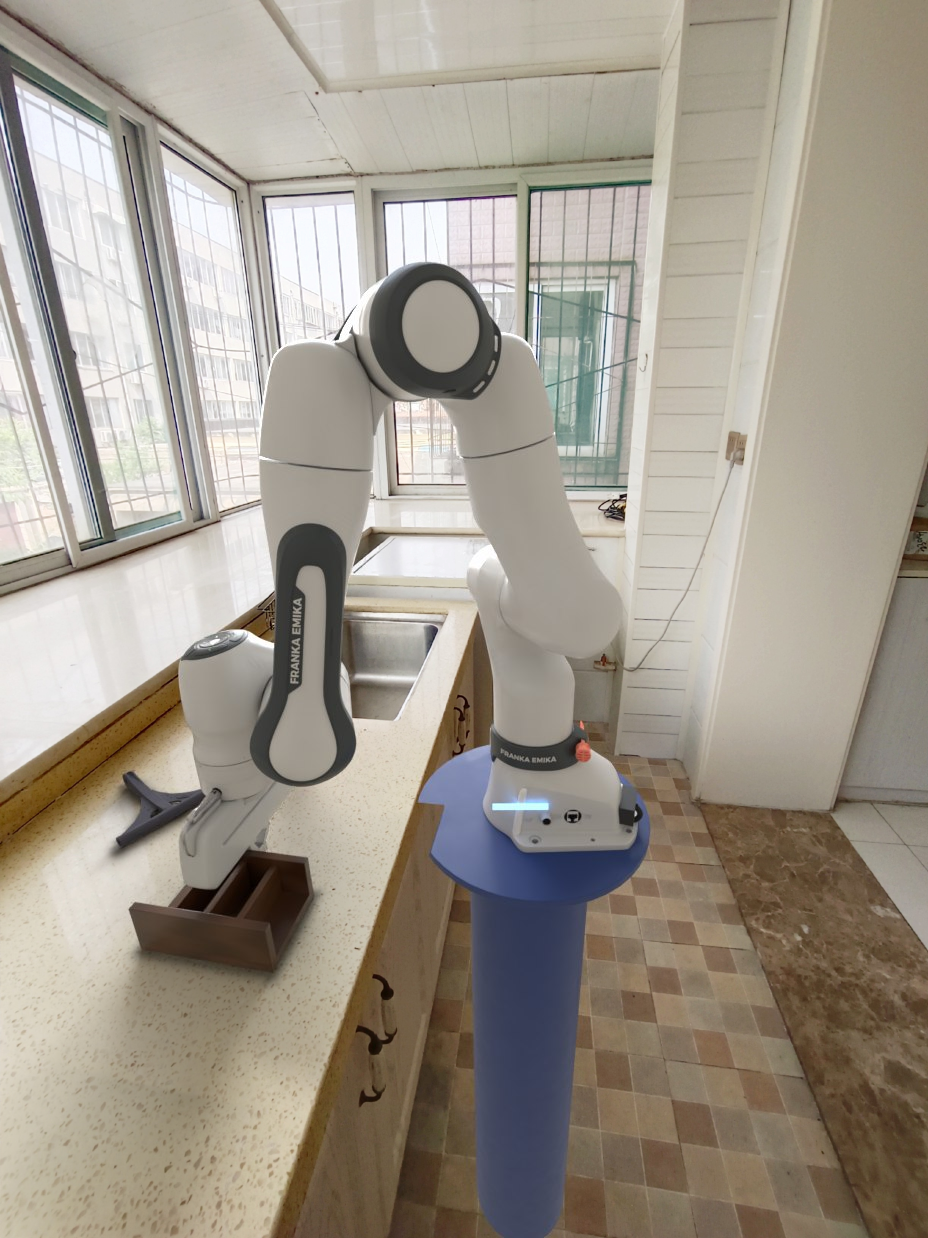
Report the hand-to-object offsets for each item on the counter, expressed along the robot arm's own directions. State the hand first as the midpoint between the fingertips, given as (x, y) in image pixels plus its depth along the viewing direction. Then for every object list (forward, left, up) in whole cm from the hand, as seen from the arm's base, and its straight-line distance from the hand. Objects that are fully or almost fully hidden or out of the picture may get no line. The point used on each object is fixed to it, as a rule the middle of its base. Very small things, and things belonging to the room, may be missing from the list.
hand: (256, 856), depth 68 cm
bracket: (+25, -11, -3) cm, 27 cm away
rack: (0, +7, -3) cm, 7 cm away
